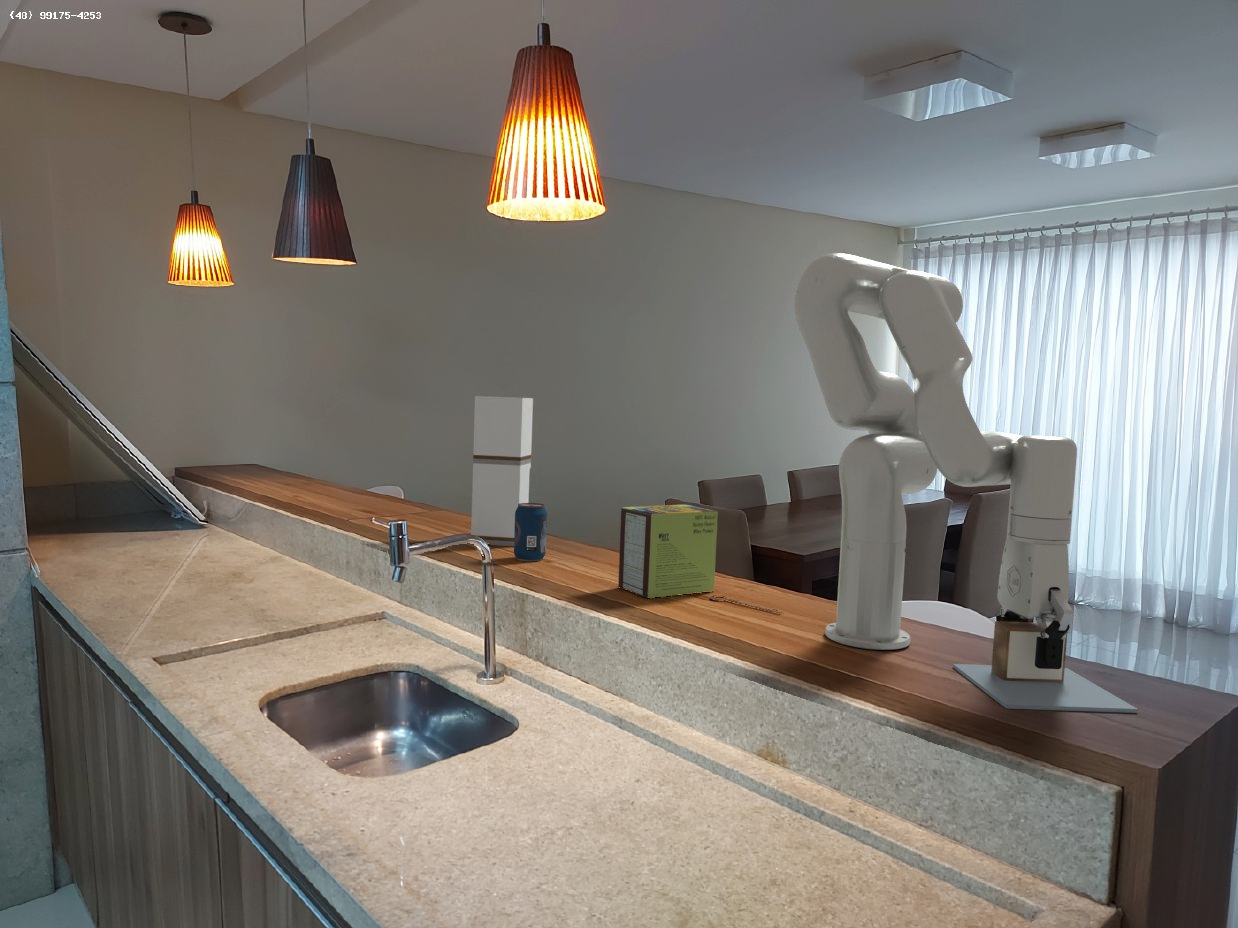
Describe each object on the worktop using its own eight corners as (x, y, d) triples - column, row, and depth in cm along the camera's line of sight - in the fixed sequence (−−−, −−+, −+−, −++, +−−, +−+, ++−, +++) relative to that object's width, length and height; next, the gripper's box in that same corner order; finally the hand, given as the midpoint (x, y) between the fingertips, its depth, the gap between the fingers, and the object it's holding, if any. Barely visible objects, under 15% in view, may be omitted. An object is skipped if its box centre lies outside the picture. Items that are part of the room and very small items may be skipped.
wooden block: (991, 671, 116) (994, 621, 115) (1049, 673, 116) (1053, 623, 116) (1004, 680, 112) (1008, 628, 112) (1064, 682, 112) (1068, 630, 112)
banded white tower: (528, 539, 212) (533, 398, 209) (517, 546, 202) (522, 397, 199) (483, 536, 213) (487, 396, 211) (470, 543, 203) (474, 395, 200)
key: (793, 615, 148) (725, 598, 159) (793, 610, 148) (726, 593, 159) (773, 617, 144) (705, 599, 155) (774, 612, 144) (705, 594, 155)
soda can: (512, 555, 189) (514, 502, 189) (543, 556, 191) (545, 502, 190) (514, 561, 183) (516, 506, 182) (546, 562, 184) (548, 506, 183)
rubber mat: (952, 667, 119) (952, 663, 119) (1066, 671, 119) (1066, 667, 119) (1006, 708, 103) (1006, 704, 103) (1137, 712, 103) (1137, 708, 103)
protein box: (715, 592, 161) (719, 510, 160) (647, 599, 153) (651, 513, 152) (682, 581, 170) (685, 503, 169) (616, 587, 162) (619, 506, 160)
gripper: (981, 519, 121) (973, 637, 122) (1043, 538, 104) (1033, 676, 105) (1034, 521, 121) (1025, 639, 123) (1105, 541, 104) (1093, 678, 105)
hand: (1028, 656), depth 114 cm, fingers open, 9 cm apart
